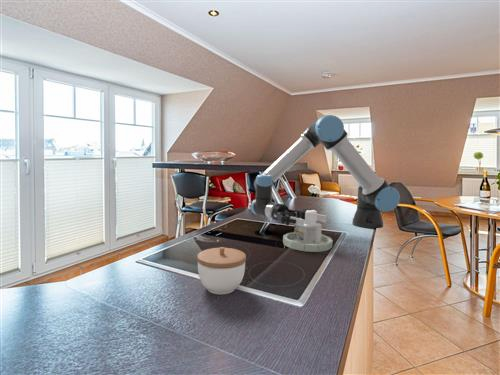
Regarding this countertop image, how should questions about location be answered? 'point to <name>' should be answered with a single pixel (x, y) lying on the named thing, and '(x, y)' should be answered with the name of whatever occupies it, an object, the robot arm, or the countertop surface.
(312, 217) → the container
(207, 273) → the lidded bowl
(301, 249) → the round tray
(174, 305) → the countertop surface
